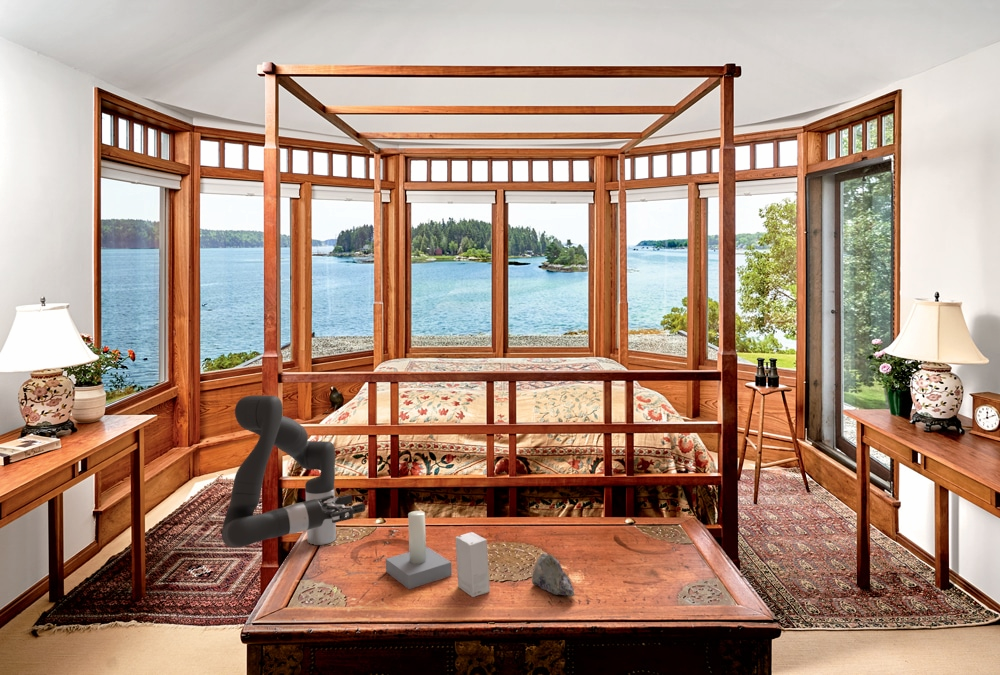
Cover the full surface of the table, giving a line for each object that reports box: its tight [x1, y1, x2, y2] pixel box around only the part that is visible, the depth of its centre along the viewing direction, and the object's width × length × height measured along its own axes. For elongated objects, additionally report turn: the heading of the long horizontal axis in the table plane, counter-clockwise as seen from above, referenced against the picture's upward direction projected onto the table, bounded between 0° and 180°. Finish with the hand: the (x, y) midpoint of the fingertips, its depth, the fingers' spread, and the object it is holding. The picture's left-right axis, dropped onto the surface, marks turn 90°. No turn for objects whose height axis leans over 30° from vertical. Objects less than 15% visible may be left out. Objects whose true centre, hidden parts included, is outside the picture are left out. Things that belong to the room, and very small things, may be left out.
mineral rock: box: [531, 552, 575, 597], centre depth 179 cm, size 13×11×10 cm
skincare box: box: [455, 531, 491, 598], centre depth 180 cm, size 8×6×15 cm
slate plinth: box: [385, 546, 453, 590], centre depth 191 cm, size 14×14×4 cm
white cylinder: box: [407, 510, 427, 564], centre depth 190 cm, size 5×5×14 cm
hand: (357, 502), depth 185 cm, fingers open, 8 cm apart
